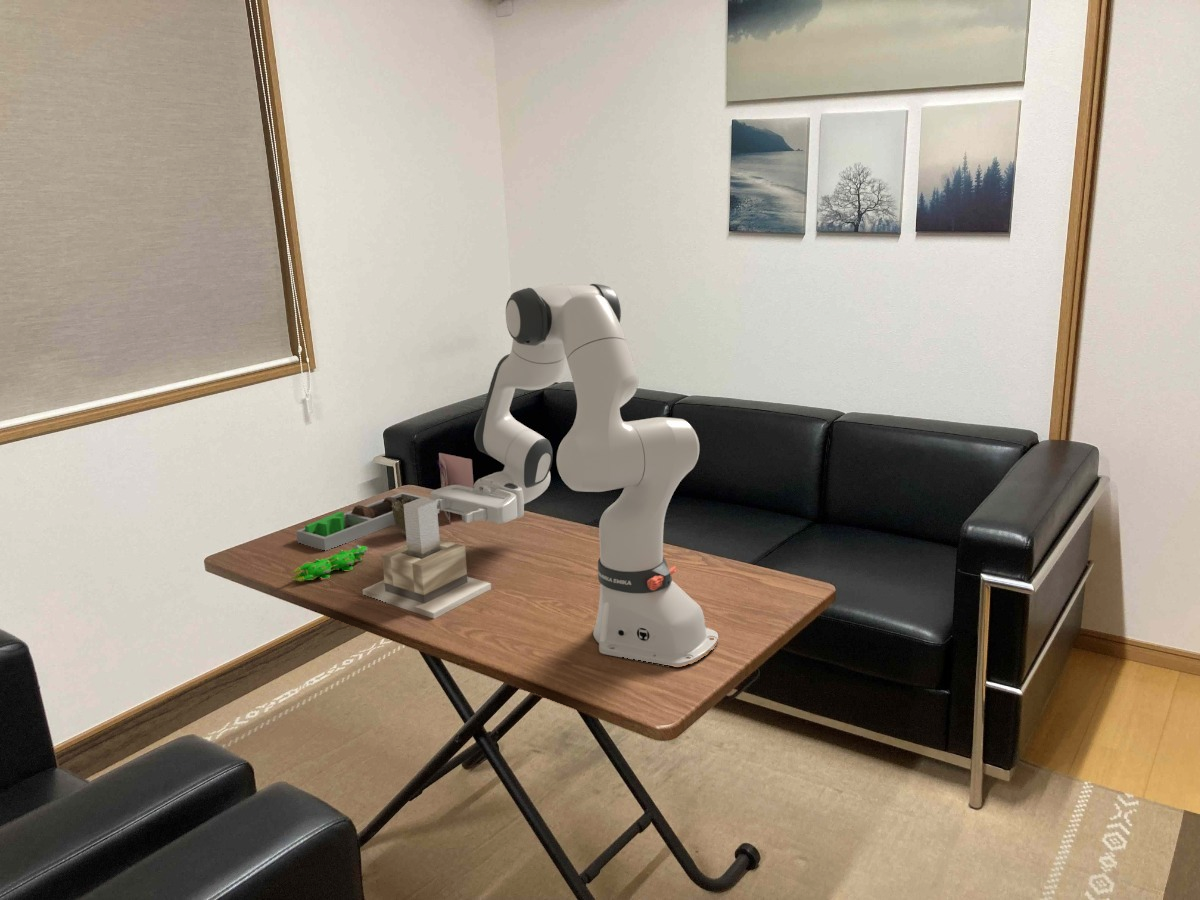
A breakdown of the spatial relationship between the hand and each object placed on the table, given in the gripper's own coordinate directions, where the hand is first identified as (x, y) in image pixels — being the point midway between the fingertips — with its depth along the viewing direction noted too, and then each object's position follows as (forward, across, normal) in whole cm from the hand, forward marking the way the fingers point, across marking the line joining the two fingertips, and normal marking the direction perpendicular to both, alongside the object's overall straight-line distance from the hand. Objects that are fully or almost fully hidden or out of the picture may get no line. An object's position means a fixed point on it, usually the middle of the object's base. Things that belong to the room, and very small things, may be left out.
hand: (447, 514), depth 190 cm
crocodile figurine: (+10, -25, +15) cm, 31 cm away
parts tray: (-13, -41, +14) cm, 45 cm away
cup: (-14, -27, +15) cm, 33 cm away
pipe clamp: (-3, -42, +15) cm, 45 cm away
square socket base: (+7, 0, +14) cm, 16 cm away
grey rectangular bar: (+7, 0, +11) cm, 13 cm away
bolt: (-19, -42, +15) cm, 48 cm away
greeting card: (-30, -27, +15) cm, 43 cm away
